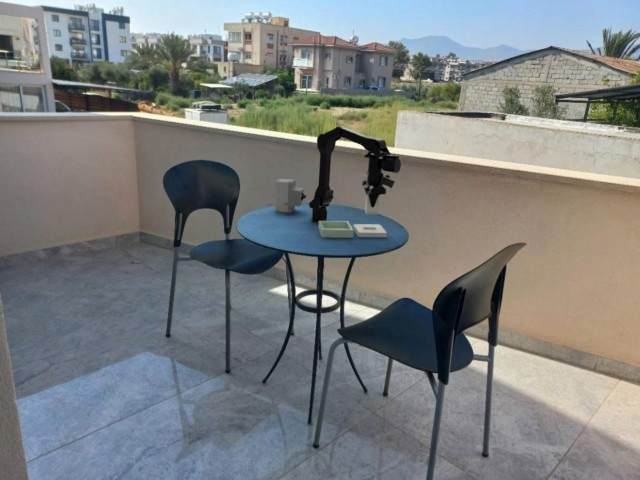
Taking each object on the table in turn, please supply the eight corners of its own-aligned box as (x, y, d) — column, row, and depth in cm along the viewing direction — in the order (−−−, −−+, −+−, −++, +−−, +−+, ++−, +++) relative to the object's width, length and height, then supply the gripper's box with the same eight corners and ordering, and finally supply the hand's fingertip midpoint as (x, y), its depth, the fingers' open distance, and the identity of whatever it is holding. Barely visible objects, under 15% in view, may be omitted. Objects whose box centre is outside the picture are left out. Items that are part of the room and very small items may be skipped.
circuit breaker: (303, 214, 215) (304, 183, 210) (274, 211, 217) (275, 181, 212) (306, 210, 222) (307, 180, 217) (279, 207, 224) (279, 178, 219)
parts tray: (322, 237, 182) (322, 229, 181) (318, 227, 194) (318, 220, 193) (352, 237, 184) (353, 230, 182) (347, 228, 196) (347, 221, 195)
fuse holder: (358, 237, 184) (358, 232, 184) (353, 228, 196) (353, 224, 195) (386, 237, 186) (386, 232, 185) (379, 228, 197) (379, 224, 196)
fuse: (366, 214, 186) (367, 195, 184) (364, 212, 189) (366, 193, 186) (377, 214, 187) (379, 195, 184) (376, 212, 190) (377, 194, 187)
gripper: (400, 174, 174) (396, 212, 179) (387, 166, 192) (384, 201, 197) (372, 173, 173) (369, 212, 178) (362, 165, 190) (360, 200, 195)
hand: (371, 206), depth 187 cm, fingers closed on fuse, 3 cm apart
